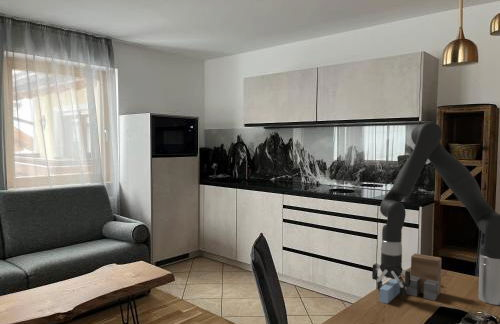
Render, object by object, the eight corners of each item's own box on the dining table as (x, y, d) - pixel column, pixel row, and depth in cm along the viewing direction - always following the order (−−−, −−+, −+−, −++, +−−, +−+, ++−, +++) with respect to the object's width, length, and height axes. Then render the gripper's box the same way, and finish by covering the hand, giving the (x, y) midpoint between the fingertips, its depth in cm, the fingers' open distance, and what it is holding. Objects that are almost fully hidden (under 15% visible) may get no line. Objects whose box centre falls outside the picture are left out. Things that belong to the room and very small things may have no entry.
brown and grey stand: (413, 286, 159) (414, 253, 158) (441, 292, 152) (442, 258, 152) (405, 293, 151) (406, 258, 151) (434, 300, 145) (435, 264, 144)
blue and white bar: (396, 287, 159) (396, 275, 158) (404, 288, 157) (404, 276, 156) (379, 301, 144) (379, 288, 144) (387, 303, 142) (387, 290, 142)
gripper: (413, 253, 146) (412, 295, 147) (376, 246, 155) (376, 286, 156) (407, 257, 140) (406, 301, 141) (369, 250, 149) (368, 291, 150)
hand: (390, 293), depth 149 cm, fingers open, 7 cm apart
